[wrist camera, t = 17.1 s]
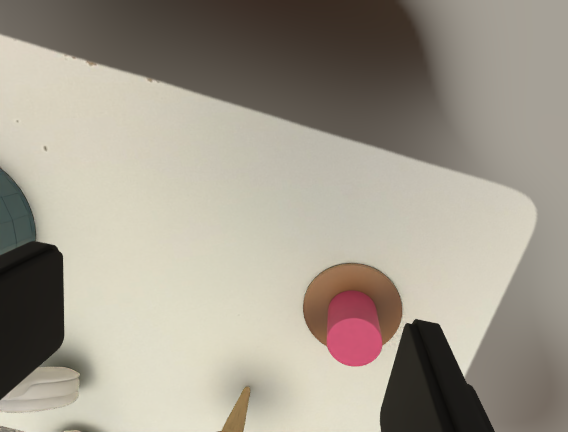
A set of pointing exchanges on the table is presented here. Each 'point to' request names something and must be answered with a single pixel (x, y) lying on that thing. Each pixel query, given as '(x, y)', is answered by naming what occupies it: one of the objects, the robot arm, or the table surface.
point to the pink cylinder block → (353, 329)
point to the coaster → (355, 280)
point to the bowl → (14, 216)
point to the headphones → (43, 391)
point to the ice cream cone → (238, 413)
